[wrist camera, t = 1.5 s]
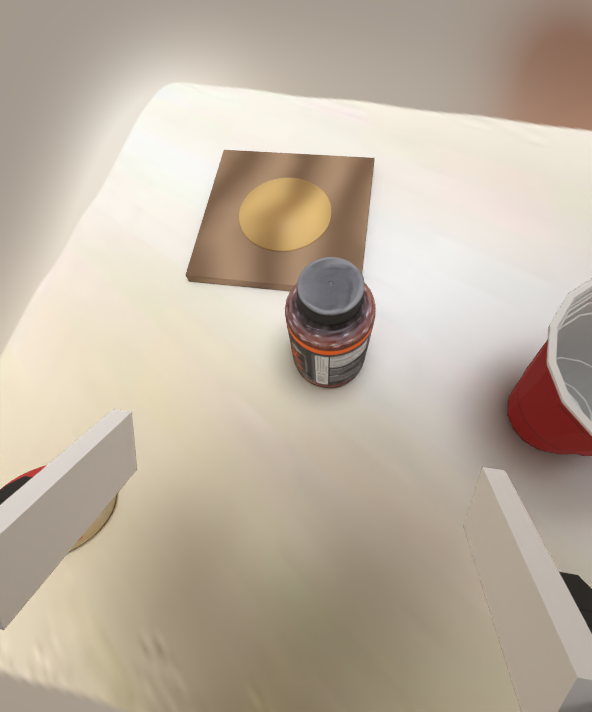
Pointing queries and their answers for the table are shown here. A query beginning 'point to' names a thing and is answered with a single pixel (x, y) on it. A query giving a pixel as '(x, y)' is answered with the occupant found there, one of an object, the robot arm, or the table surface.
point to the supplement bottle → (330, 321)
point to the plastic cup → (559, 383)
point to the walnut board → (281, 217)
